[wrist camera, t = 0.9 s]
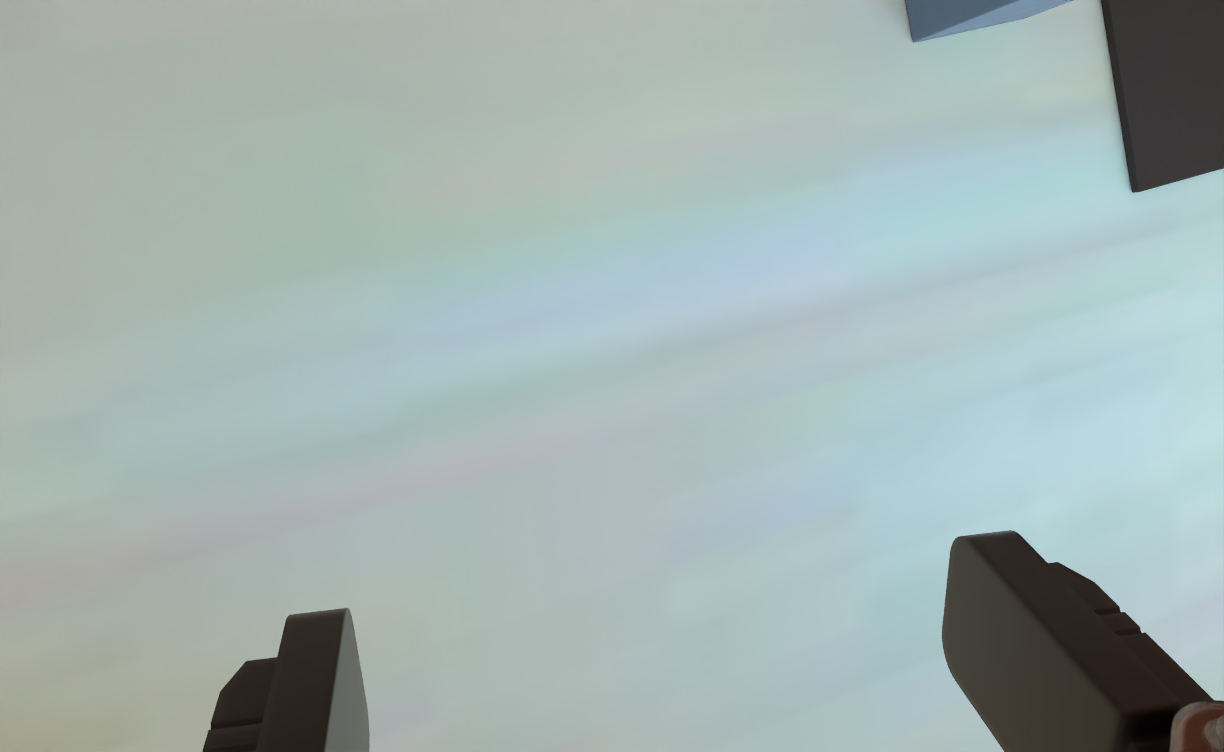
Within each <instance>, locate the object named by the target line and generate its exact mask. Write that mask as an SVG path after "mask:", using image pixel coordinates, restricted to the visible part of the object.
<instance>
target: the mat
mask: <svg viewBox="0 0 1224 752" xmlns="http://www.w3.org/2000/svg"><path fill="white" fill-rule="evenodd" d="M1101 1H1102V7H1103V14H1104V20H1105V26H1106V32H1107V39H1108V45H1109V51H1110V57H1111V63H1112V70H1113V76H1114V82H1115V88H1116V94H1117V101H1118V107H1119V113H1120V119H1121V126H1122V132H1123V138H1124V144H1125V150H1126V157H1127V163H1128V169H1129V175H1130V182H1131V188H1132V192H1141V191H1144V190H1148V189H1151V188H1155V187H1159V186H1162V185H1166V184H1169V183H1173V182H1176V181H1180V180H1183V179H1187V178H1191V177H1194V176H1198V175H1201V174H1205V173H1208V172H1212V171H1215V170H1219V169H1223V168H1224V0H1101Z"/></svg>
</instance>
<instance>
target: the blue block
mask: <svg viewBox="0 0 1224 752" xmlns="http://www.w3.org/2000/svg"><path fill="white" fill-rule="evenodd" d="M1070 1H1073V0H905V2H906V7H907V12H908V17H909V23H910V28H911V33H912V38H913V42H919V41H924V40H928V39H933V38H937V37H942V36H946V35H951V34H955V33H960V32H964V31H969V30H973V29H978V28H982V27H987V26H992V25H996V24H1001V23H1005V22H1010V21H1014V20H1019V19H1023V18H1027V17H1030V16H1032V15H1035V14H1038V13H1040V12H1043V11H1046V10H1048V9H1051V8H1054V7H1057V6H1059V5H1062V4H1065V3H1067V2H1070Z"/></svg>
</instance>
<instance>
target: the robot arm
mask: <svg viewBox="0 0 1224 752" xmlns="http://www.w3.org/2000/svg"><path fill="white" fill-rule="evenodd" d="M942 641H943V649H944V654H945V658H946V661H947V664H948V667H949V669H950V672H951V674H952V676H953V677H954V679H955V681H956V682H957V684H958V685H959V686H960V688H961V689H962V691H963V692H964V694H965V695H966V697H967V698H968V699H969V701H970V702H971V704H972V705H973V707H974V708H975V710H976V711H977V712H978V714H979V715H980V717H981V718H982V720H983V721H984V723H985V724H986V725H987V727H988V728H989V730H990V731H991V733H992V734H993V736H994V737H995V739H996V740H997V741H998V743H999V744H1000V746H1001V747H1002V749H1003V750H1004V752H1224V701H1214V700H1213V699H1212V698H1211V697H1210V696H1209V695H1208V694H1207V693H1206V692H1205V691H1204V690H1203V689H1202V688H1201V687H1200V686H1199V685H1198V684H1197V683H1196V682H1195V681H1194V680H1193V679H1192V678H1191V677H1190V676H1189V675H1188V674H1187V673H1186V672H1185V671H1184V670H1183V669H1182V668H1181V667H1180V666H1179V665H1178V664H1177V663H1176V662H1175V661H1174V660H1173V659H1172V658H1171V657H1170V656H1169V655H1168V654H1167V653H1166V652H1165V651H1164V650H1163V649H1162V648H1161V647H1160V646H1158V645H1157V644H1156V643H1155V642H1154V641H1153V640H1152V639H1151V638H1150V637H1149V636H1148V635H1147V634H1146V633H1141V631H1140V627H1139V626H1138V625H1137V624H1136V623H1135V622H1134V621H1133V620H1132V619H1131V618H1130V617H1129V616H1128V615H1127V614H1126V613H1125V612H1120V607H1119V606H1118V605H1117V604H1116V603H1115V602H1114V601H1113V600H1112V599H1111V598H1110V597H1109V596H1108V595H1107V594H1106V593H1105V592H1104V591H1103V590H1102V589H1101V588H1100V587H1099V586H1098V585H1097V584H1096V583H1095V582H1093V581H1091V580H1089V579H1088V578H1086V577H1084V576H1082V575H1080V574H1078V573H1077V572H1075V571H1073V570H1071V569H1069V568H1068V567H1066V566H1064V565H1062V564H1060V563H1058V562H1055V563H1047V562H1046V561H1045V560H1044V559H1043V558H1042V557H1041V556H1040V555H1039V554H1038V553H1037V552H1036V551H1035V550H1034V549H1033V548H1032V547H1031V546H1030V545H1029V544H1028V543H1027V542H1026V541H1025V539H1024V538H1023V537H1022V536H1021V535H1019V534H1018V533H1017V532H1015V531H1011V530H1010V531H1001V532H993V533H985V534H976V535H968V536H960V537H957V538H956V539H955V540H954V542H953V544H952V547H951V551H950V559H949V569H948V579H947V588H946V598H945V608H944V617H943V627H942ZM203 752H369V721H368V711H367V703H366V697H365V691H364V685H363V679H362V673H361V667H360V661H359V656H358V650H357V644H356V638H355V632H354V626H353V620H352V616H351V613H350V610H349V609H348V608H344V609H335V610H327V611H318V612H310V613H302V614H293V615H289V616H288V617H287V619H286V622H285V627H284V631H283V635H282V639H281V644H280V648H279V652H278V657H276V658H268V659H260V660H252V661H246V662H245V663H244V664H243V666H242V667H241V668H240V669H239V670H238V671H237V673H236V674H235V675H234V676H233V677H232V678H231V680H230V681H229V682H228V683H227V684H226V685H225V687H224V688H223V689H222V690H221V691H220V694H219V698H218V701H217V704H216V708H215V711H214V714H213V718H212V721H211V730H209V731H208V734H207V738H206V741H205V745H204V748H203Z"/></svg>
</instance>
